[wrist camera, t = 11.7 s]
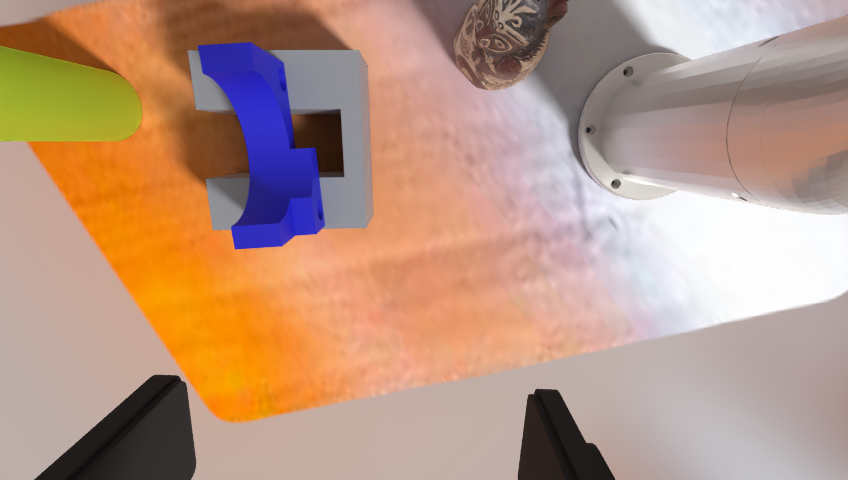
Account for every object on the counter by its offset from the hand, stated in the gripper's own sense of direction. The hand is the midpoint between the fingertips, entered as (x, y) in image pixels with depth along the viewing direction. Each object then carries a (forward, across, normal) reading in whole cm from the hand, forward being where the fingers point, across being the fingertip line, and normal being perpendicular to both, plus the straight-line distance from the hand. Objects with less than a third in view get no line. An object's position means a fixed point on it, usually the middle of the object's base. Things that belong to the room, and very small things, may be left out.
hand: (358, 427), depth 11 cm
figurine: (+28, -7, -16) cm, 33 cm away
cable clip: (+22, +9, -6) cm, 24 cm away
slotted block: (+27, +9, -7) cm, 30 cm away
